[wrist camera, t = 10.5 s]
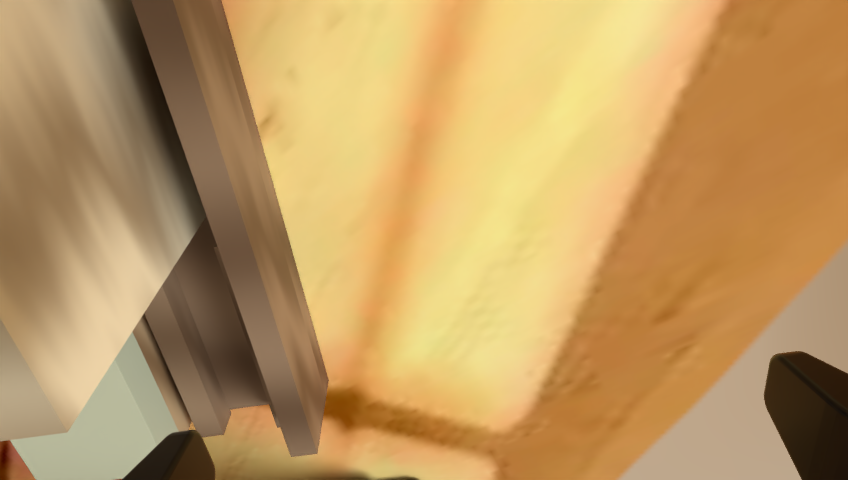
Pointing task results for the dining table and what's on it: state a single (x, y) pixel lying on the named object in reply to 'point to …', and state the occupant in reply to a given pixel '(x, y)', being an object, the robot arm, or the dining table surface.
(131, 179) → the birch sheet
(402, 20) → the dining table surface
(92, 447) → the sage offcut
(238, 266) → the walnut rack
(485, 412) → the dining table surface
